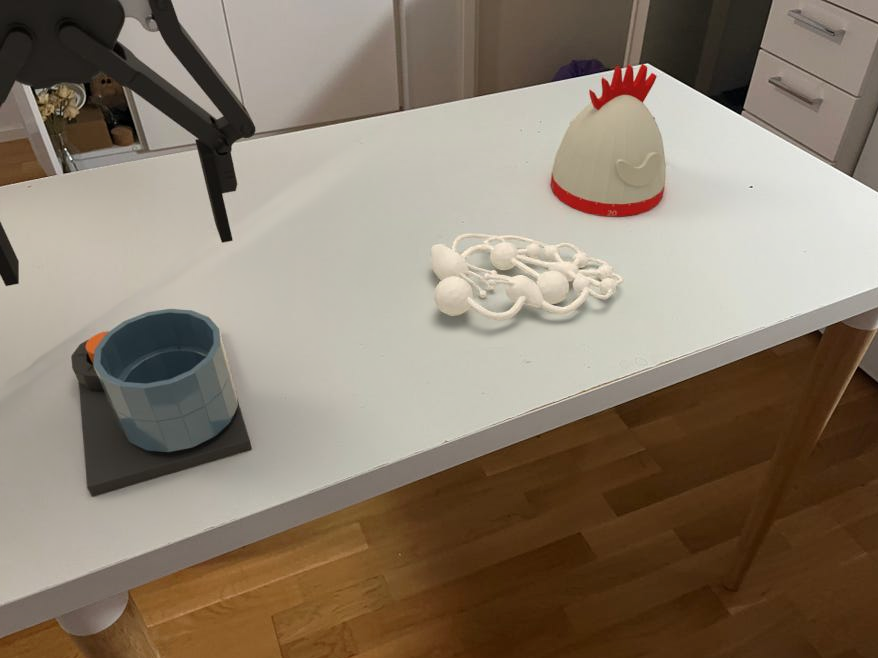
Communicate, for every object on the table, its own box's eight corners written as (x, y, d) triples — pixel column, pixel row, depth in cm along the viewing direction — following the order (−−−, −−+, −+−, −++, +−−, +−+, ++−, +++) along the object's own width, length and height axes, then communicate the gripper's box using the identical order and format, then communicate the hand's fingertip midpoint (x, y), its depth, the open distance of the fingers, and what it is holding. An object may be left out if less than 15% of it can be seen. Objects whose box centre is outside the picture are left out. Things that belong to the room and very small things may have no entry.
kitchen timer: (684, 204, 91) (713, 81, 81) (584, 225, 87) (601, 98, 77) (625, 154, 101) (644, 38, 90) (532, 171, 96) (541, 51, 86)
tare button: (90, 349, 65) (84, 336, 64) (127, 341, 66) (121, 327, 65) (92, 371, 63) (86, 357, 62) (130, 362, 64) (125, 348, 63)
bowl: (98, 430, 60) (66, 361, 55) (180, 364, 66) (158, 296, 61) (183, 473, 57) (157, 403, 52) (261, 399, 63) (244, 331, 58)
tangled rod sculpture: (599, 253, 85) (605, 219, 82) (634, 325, 73) (642, 289, 71) (427, 255, 83) (427, 221, 80) (436, 331, 71) (436, 294, 69)
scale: (80, 365, 68) (69, 340, 66) (217, 332, 71) (210, 307, 69) (92, 497, 57) (78, 472, 55) (252, 450, 61) (245, 424, 59)
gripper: (-343, -69, 31) (-93, 328, 45) (267, -104, 39) (315, 242, 53) (-293, -108, 36) (-82, 261, 50) (239, -132, 44) (290, 192, 58)
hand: (122, 252), depth 52 cm, fingers open, 13 cm apart
